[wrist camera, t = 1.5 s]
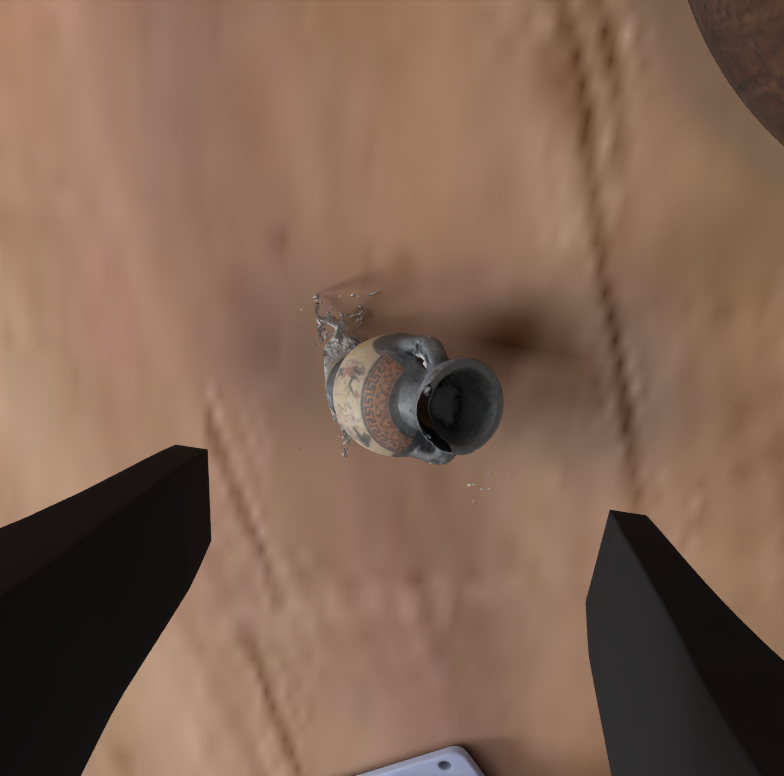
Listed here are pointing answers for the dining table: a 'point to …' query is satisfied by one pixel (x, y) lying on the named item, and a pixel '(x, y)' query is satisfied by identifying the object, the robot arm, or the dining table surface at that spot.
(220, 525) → the dining table surface
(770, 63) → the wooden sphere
